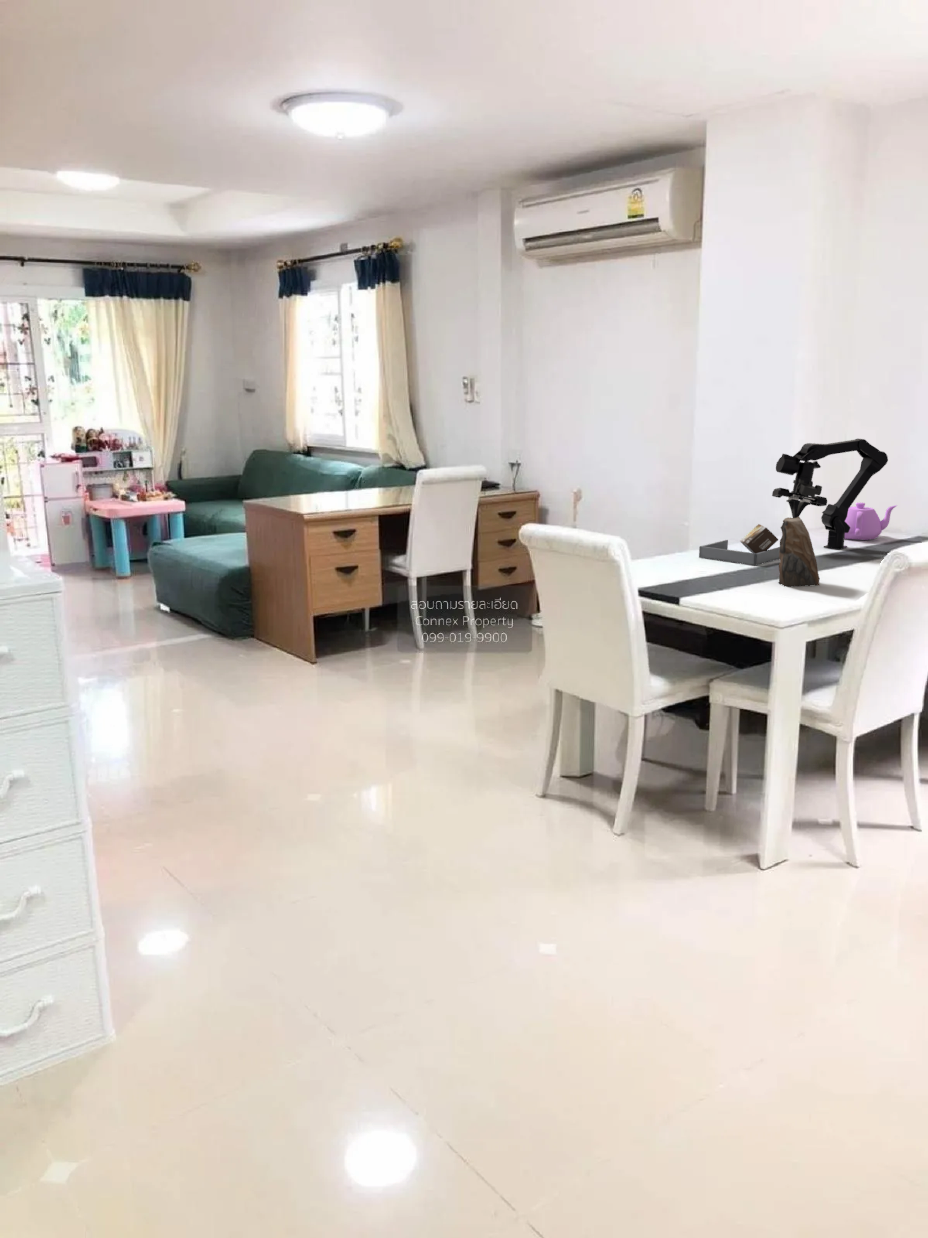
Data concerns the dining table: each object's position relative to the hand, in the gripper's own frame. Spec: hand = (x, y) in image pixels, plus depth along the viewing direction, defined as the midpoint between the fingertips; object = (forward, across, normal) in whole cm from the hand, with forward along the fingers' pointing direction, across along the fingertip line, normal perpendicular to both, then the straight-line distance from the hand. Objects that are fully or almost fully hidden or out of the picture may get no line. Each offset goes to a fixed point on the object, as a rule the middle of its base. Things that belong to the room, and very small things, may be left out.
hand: (794, 520), depth 354 cm
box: (+18, -20, -7) cm, 28 cm away
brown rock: (+26, -16, -49) cm, 57 cm away
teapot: (-2, +39, +24) cm, 46 cm away
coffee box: (+9, -13, 0) cm, 16 cm away
